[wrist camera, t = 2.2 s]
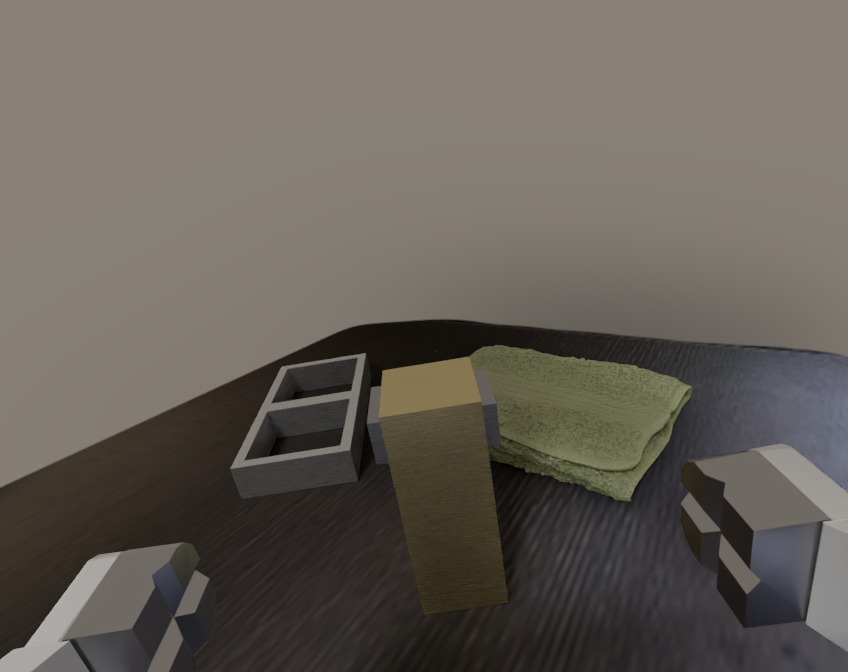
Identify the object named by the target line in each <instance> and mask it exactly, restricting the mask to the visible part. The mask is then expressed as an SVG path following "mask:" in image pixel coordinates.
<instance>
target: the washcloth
mask: <svg viewBox="0 0 848 672" xmlns="http://www.w3.org/2000/svg"><path fill="white" fill-rule="evenodd" d="M469 358H470V361H471V365H472V368H473V371H477V370H483V369H485V370H486V373H487V376H488V379H489V383H490V386H491V389H492V392H493V395H494V398H495V401H496V405H497V413H498V421H499V429H500V438H501V445H499V446H492V447H488V453H489V460H493V461H497V462H499V463H506V464H510V465H512V466H514V467H516V468H518V467H519V468H524V469H525V472H527V473H528V472H531V471H532V473H539V474H541V475H542V476H544V475H549V476H552V477H553V478H555V479H557V480H559V481H560V482H561V481H563V482H570V483H571V484H572V483H577V484H578V485H583V486H585V488H586V489H587V490H591V491H595V492H598V493H601V494H602V495H603V494H605V495H606V496H611V497H613V499H614V500H622V501H631V499H630V498H631V496H632V494H633V492H634V489H635V487H636V485H637V484H638V482H639V481H640V479H641V478H642V477H643V475H644V473H645V472H646V471H647V469H648V468H649V467H650V466H651V464H652V463H653V462H654V461H655V459H656V458H657V457H658V456H659V455H660V453H661V452H662V451H663V449H664V447H665V446H666V445H667V443H668V442H669V440H670V436H671V434H672V429H673V428H672V426H673V425H674V423H675V421H676V419H677V417H678V415H679V413H680V412H681V409H682V407H683V406H684V405H685V404H686V402H687V401H688V400H689V399H690V397H691V393H692V387H691V386H689V385H685V384H684V383H681V382H680V381H678V379H677V378H674V377H670V376H667V375H661V374H658V373H654V372H653V371H649V370H646V369H639V368H638V367H637V366H635V365H633V366H632V365H628V364H626V365H625V364H620V365H619V364H617V363H613V362H612V363H610V362H602V361H601V362H598V361H595V360H589V359H588V360H587V361H586V360H585V359H584V358H581V359H577V358H574V357H571V358H570V357H568V358H566V357H559V356H554V355H550V354H546V353H540V352H537V351H535V350H532V349H519V348H516V347H514V348H511V347H507V346H503V345H499V346H498V345H495V346H493V347H491V346H488V347H483V348H481V349H479V350H477V351H476V352H474V353H473V354H472V355H471V356H470V357H469Z"/></svg>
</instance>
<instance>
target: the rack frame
mask: <svg viewBox="0 0 848 672" xmlns="http://www.w3.org/2000/svg"><path fill="white" fill-rule="evenodd" d="M352 383H353V385H352V390H351V391H347V392H341V393H335V394H329V395H322V396H316V397H310V398H303V399H297V400H292V398H293V395H294V393H296V392H302V391H309V390H315V389H321V388H327V387H334V386H340V385H346V384H352ZM370 384H371V373H370V368H369V364H368V360H367V355H366V353H363V354H357V355H351V356H345V357H339V358H333V359H326V360H320V361H314V362H308V363H302V364H295V365H289V366H283V367H281V369H280V371H279V373H278V375H277V377H276V379H275V381H274V383H273V385H272V387H271V389H270V391H269V393H268V395H267V397H266V399H265V401H264V403H263V405H262V407H261V409H260V411H259V413H258V415H257V417H256V419H255V421H254V423H253V425H252V427H251V429H250V431H249V433H248V435H247V437H246V439H245V441H244V443H243V445H242V447H241V449H240V451H239V453H238V455H237V457H236V459H235V461H234V463H233V465H232V467H231V472H232V475H233V477H234V480H235V482H236V485H237V488H238V490H239V493H240V496H241V498H242V499H245V498H252V497H258V496H265V495H271V494H278V493H284V492H291V491H297V490H304V489H310V488H317V487H323V486H330V485H336V484H343V483H349V482H356V481H358V478H359V470H360V462H361V454H362V447H363V439H364V431H365V423H366V415H367V408H368V400H369V392H370ZM339 428H344V430H343V436H342V441H341V446H334V447H328V448H322V449H315V450H309V451H302V452H296V453H290V454H283V455H277V456H270V457H269V455H270V452H271V450H272V447H273V445H274V442H275V440H276V438H282V437H288V436H294V435H301V434H307V433H314V432H320V431H326V430H333V429H339Z"/></svg>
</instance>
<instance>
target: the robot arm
mask: <svg viewBox="0 0 848 672" xmlns="http://www.w3.org/2000/svg"><path fill="white" fill-rule="evenodd" d="M681 482H682V483H683V484H684V486H685V487H686V488H687V490H688V491H689V493H688V495H687V496H686V497H685V499H684V500H683V501H682V502H681V522H682V526H683V530H684V534H685V537H686V539H687V542H688V544H689V546H690V548H691V550H692V552H693V553H694V555H695V556H696V558H697V559H698V561H699V562H700V564H701V565H703V566H705V567H707V568H708V569H710V570H712V571H714V572H715V573H717V574H718V577H717V589H718V591H719V592H720V594H721V595H722V597H723V598H724V599H725V601H726V602H727V604H728V605H729V607H730V608H731V610H732V611H733V613H734V614H735V616H736V617H737V618H738V620H739V621H740V623H741V624H742V626H743V627H744V628H749V627H757V626H765V625H774V624H782V623H790V622H799V621H806V624H807V625H808V626H810V627H811V628H813V629H814V630H815V631H817V632H818V633H820V634H821V635H823V636H824V637H826V638H827V639H829V640H830V641H832V642H833V643H835V644H836V645H838V646H839V647H841V648H842V649H844V650H845V651H847V652H848V493H847V492H846V491H845V490H844V489H842V488H841V487H840V486H839V485H837V484H836V483H835V482H834V481H833V480H831V479H830V478H829V477H828V476H826V475H825V474H824V473H823V472H822V471H820V470H819V469H818V468H817V467H816V466H814V465H813V464H812V463H811V462H809V461H808V460H807V459H806V458H805V457H803V456H802V455H801V454H800V453H798V452H797V451H796V450H795V449H794V448H792V447H791V446H788V445H785V444H782V443H781V444H776V445H770V446H765V447H759V448H754V449H749V450H748V451H741V452H735V453H729V454H723V455H717V456H711V457H705V458H699V459H693V460H688V461H685V463H684V465H683V467H682V477H681ZM199 561H200V558H199V556H198V554H197V552H196V550H195V548H194V547H193V545H192V544H188V543H184V542H183V543H176V544H169V545H162V546H154V547H147V548H140V549H133V550H127V551H123V552H115V553H108V554H101V555H98V556H96V557H94V558H92V559H91V560H89V561H88V562H87V563H86V565H85V566H84V567H83V569H82V570H81V571H80V573H79V574H78V575H77V577H76V578H75V579H74V581H73V582H72V583H71V585H70V586H69V588H68V589H67V590H66V592H65V593H64V594H63V596H62V597H61V598H60V600H59V601H58V602H57V604H56V605H55V606H54V608H53V609H52V611H51V612H50V613H49V615H48V616H47V617H46V619H45V620H44V621H43V623H42V624H41V625H40V627H39V628H38V629H37V631H36V632H35V634H34V635H33V636H32V638H31V639H30V640H29V642H28V643H27V644H26V646H25V647H24V648H19V649H14V650H12V651H11V652H10V653H8V654H7V655H6V656H4V657H3V658H2V659H0V672H196V671H197V669H198V667H197V664H196V661H195V658H194V655H195V654H196V653H197V652H198V651H199V650H200V648H201V647H202V646H203V645H204V644H205V643H206V642H207V641H208V640H209V637H210V634H211V632H212V629H213V626H214V623H215V614H216V598H215V592H214V588H213V586H212V584H211V582H210V579H209V578H207V577H206V576H204V575H202V574H201V573H199V572H198V571H196V568H197V566H198V563H199Z"/></svg>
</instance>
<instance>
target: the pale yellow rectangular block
mask: <svg viewBox="0 0 848 672" xmlns="http://www.w3.org/2000/svg"><path fill="white" fill-rule="evenodd" d="M367 427H368V431H369V435H370V439H371V443H372V447H373V452H374V456H375V460H376V464H383V463H389V465H390V469H391V474H392V478H393V482H394V487H395V491H396V495H397V500H398V504H399V508H400V513H401V517H402V521H403V526H404V530H405V534H406V539H407V543H408V547H409V552H410V556H411V561H412V565H413V569H414V574H415V578H416V582H417V587H418V591H419V595H420V600H421V604H422V608H423V613H424V615H430V614H437V613H444V612H451V611H458V610H465V609H471V608H478V607H485V606H492V605H499V604H506V603H509V602H508V595H507V587H506V580H505V572H504V565H503V557H502V550H501V542H500V535H499V527H498V520H497V512H496V505H495V497H494V490H493V483H492V475H491V468H490V460H489V453H488V447H492V446H499V445H501V438H500V429H499V421H498V413H497V405H496V401H495V398H494V395H493V392H492V389H491V386H490V383H489V379H488V376H487V373H486V370H485V369H483V370H477V371H473V368H472V365H471V361H470V358H469V357H464V358H458V359H452V360H445V361H439V362H433V363H427V364H421V365H414V366H408V367H402V368H396V369H390V370H383V373H382V384H381V386H377V387H371V394H370V402H369V410H368V418H367Z"/></svg>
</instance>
